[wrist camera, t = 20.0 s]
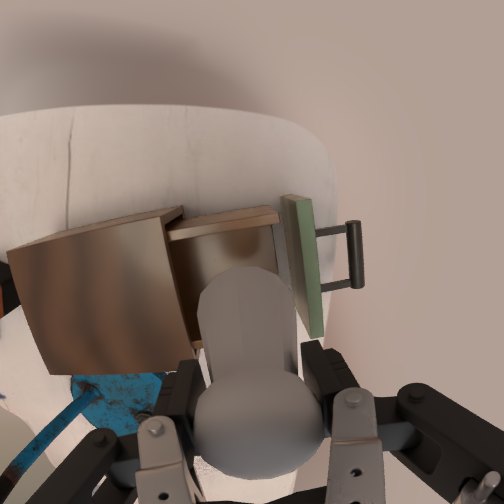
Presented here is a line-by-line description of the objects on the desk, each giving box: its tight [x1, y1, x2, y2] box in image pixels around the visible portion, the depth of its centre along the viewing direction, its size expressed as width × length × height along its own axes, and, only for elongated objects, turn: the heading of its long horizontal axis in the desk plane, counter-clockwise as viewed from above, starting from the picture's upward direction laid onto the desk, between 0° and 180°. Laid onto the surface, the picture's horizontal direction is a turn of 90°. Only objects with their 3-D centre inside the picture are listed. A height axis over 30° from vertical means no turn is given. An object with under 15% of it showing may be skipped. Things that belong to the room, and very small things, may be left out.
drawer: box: [165, 194, 365, 349], centre depth 27 cm, size 19×11×8 cm, turn 99°
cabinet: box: [6, 205, 201, 375], centre depth 27 cm, size 16×13×10 cm
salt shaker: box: [193, 266, 325, 480], centre depth 14 cm, size 6×6×13 cm
